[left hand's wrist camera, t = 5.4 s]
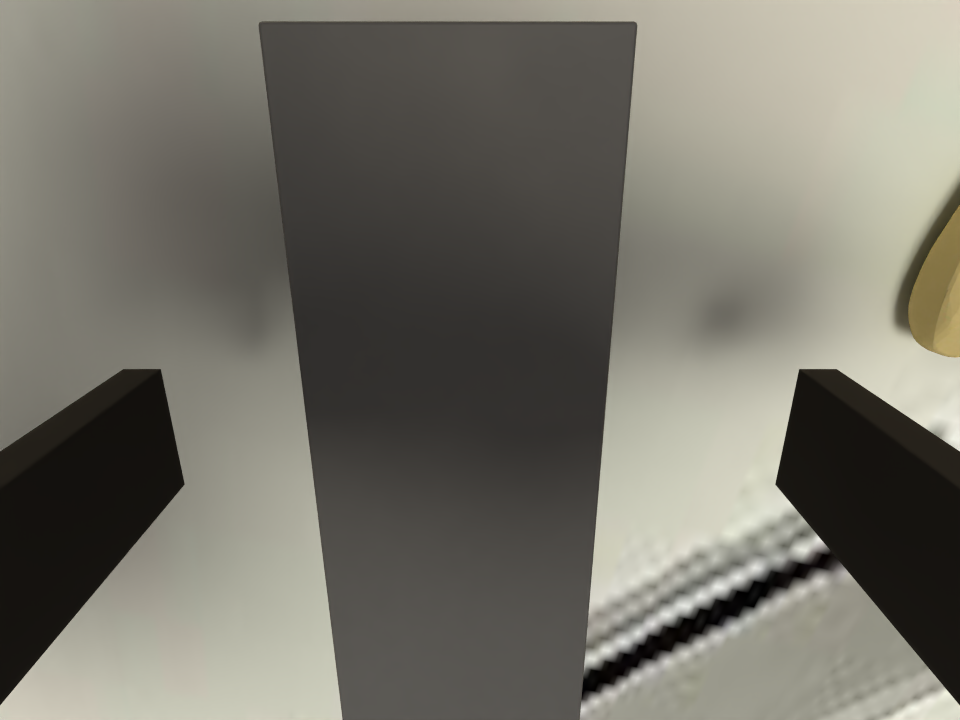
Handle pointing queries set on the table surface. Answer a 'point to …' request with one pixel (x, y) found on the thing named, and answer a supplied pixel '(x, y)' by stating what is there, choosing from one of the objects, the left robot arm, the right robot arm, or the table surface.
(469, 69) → the post
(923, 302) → the toy gun
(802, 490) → the left robot arm
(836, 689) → the table surface
